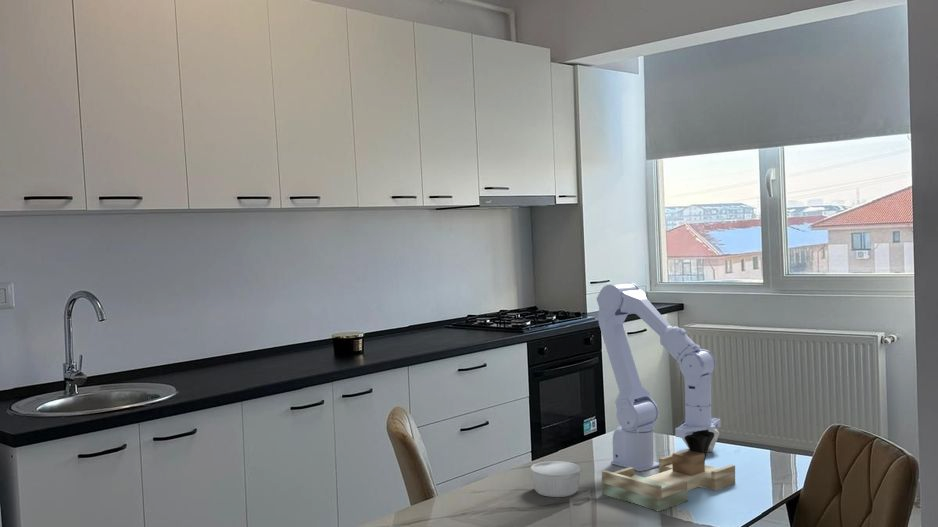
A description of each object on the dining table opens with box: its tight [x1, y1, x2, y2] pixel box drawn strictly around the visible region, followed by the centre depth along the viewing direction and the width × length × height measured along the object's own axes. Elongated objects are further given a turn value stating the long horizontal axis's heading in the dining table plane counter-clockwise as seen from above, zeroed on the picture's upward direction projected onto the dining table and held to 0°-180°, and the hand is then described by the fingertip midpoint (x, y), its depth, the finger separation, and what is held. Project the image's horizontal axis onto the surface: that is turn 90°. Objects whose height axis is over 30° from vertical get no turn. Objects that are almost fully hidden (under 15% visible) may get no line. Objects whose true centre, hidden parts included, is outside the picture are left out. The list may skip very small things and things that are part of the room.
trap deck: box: [601, 454, 736, 512], centre depth 179 cm, size 15×27×5 cm, turn 129°
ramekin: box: [529, 460, 582, 498], centre depth 180 cm, size 11×11×5 cm
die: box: [681, 428, 720, 453], centre depth 210 cm, size 8×9×10 cm
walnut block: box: [671, 449, 706, 476], centre depth 183 cm, size 5×5×4 cm
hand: (698, 463), depth 186 cm, fingers closed
